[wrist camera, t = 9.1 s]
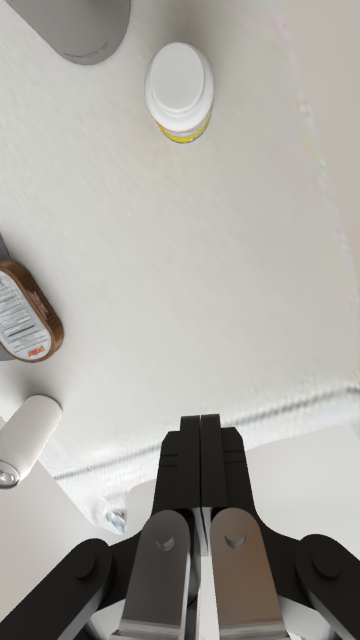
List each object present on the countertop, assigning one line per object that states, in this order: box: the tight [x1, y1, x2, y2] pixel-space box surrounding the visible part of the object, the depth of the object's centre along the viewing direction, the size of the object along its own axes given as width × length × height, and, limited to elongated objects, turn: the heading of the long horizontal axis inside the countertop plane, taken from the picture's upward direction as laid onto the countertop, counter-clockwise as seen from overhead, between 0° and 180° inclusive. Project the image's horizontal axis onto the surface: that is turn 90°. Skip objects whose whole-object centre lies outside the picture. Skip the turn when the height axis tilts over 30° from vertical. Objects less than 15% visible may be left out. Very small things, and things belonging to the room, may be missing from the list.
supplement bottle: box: [144, 42, 214, 143], centre depth 25 cm, size 6×6×10 cm
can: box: [0, 395, 62, 489], centre depth 42 cm, size 6×6×12 cm
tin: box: [0, 257, 64, 363], centre depth 38 cm, size 15×3×8 cm
